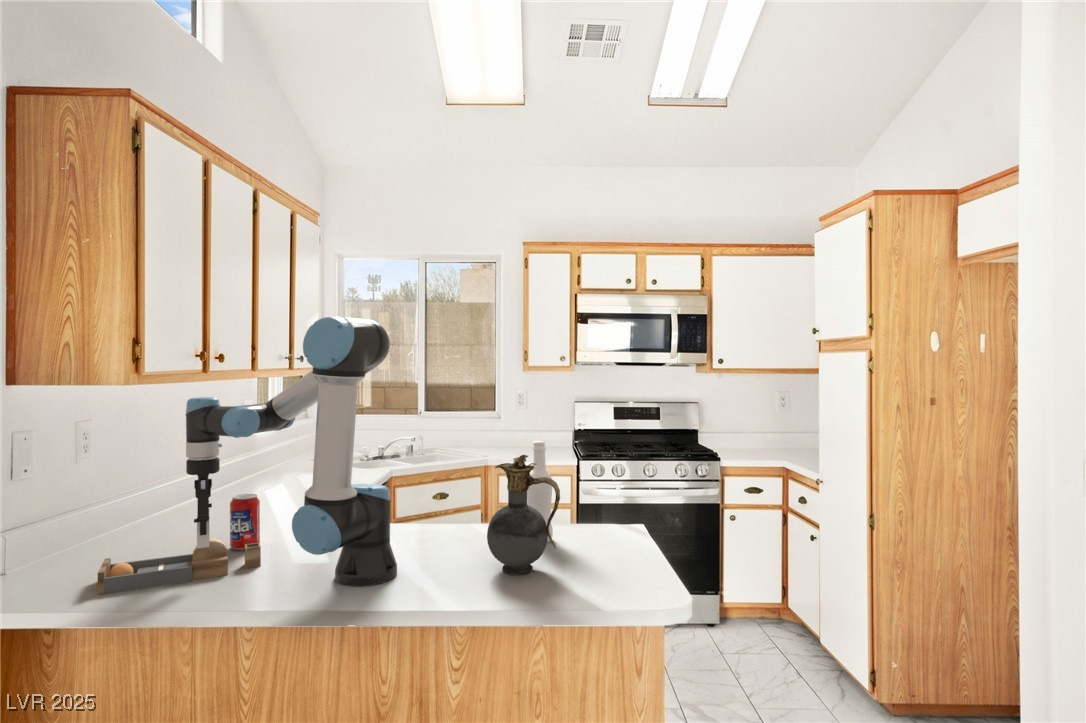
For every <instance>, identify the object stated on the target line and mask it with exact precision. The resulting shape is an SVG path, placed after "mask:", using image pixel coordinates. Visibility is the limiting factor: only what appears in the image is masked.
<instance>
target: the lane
mask: <svg viewBox="0 0 1086 723" xmlns="http://www.w3.org/2000/svg"><path fill="white" fill-rule="evenodd" d="M192 556H193V553H189V554H188V553H187V554H179V555H173V556H165V557H156V558H149V559H141V560H133V561H126V562H123V563H127V564H130V565H131V566H132V568H133V574H128V575H120V576H113V577H106V578H104V594H103V595H105V594H110V593H111V594H112V593H117V592H124V591H133V590H138V589H145V588H152V587H157V586H158V587H160V586H167V585H173V584H174V585H175V584H180V583H188V582H192V581H193V580H192ZM119 563H120V562H117V563H111V564H110V570H111V569H112V567H113V566H115V565H116V564H119Z"/></svg>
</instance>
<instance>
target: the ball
mask: <svg viewBox="0 0 1086 723" xmlns="http://www.w3.org/2000/svg"><path fill="white" fill-rule="evenodd" d="M118 563H119V564H116V563H115V564H116V565H115V566H113V567H112V569H111V570H110V572H109V577H113V576H120V575H128V574H133V568H132V566H131V565H130V564H127V563H124V562H118Z"/></svg>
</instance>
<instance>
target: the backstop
mask: <svg viewBox="0 0 1086 723" xmlns="http://www.w3.org/2000/svg"><path fill="white" fill-rule="evenodd" d="M110 564H112V563H111V557H110V558H104V560H103V562H102V563H101V565H100V567H99V570H98V572H97V595H105V594H104V578H106V577H109V572H110Z"/></svg>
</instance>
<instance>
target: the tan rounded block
mask: <svg viewBox="0 0 1086 723" xmlns="http://www.w3.org/2000/svg"><path fill="white" fill-rule="evenodd" d="M192 554H193V556H192V581H193V580H200V579H206V578H207V579H208V578H216V577H221V576H228V575H229V558H228V548H227V545H226V544H225V543H224V542H223V541H222V540H221V539H218V538H212V537H211V538H209V547H205V548H197V545H196V546H195V547H194V549H193V552H192Z"/></svg>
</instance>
